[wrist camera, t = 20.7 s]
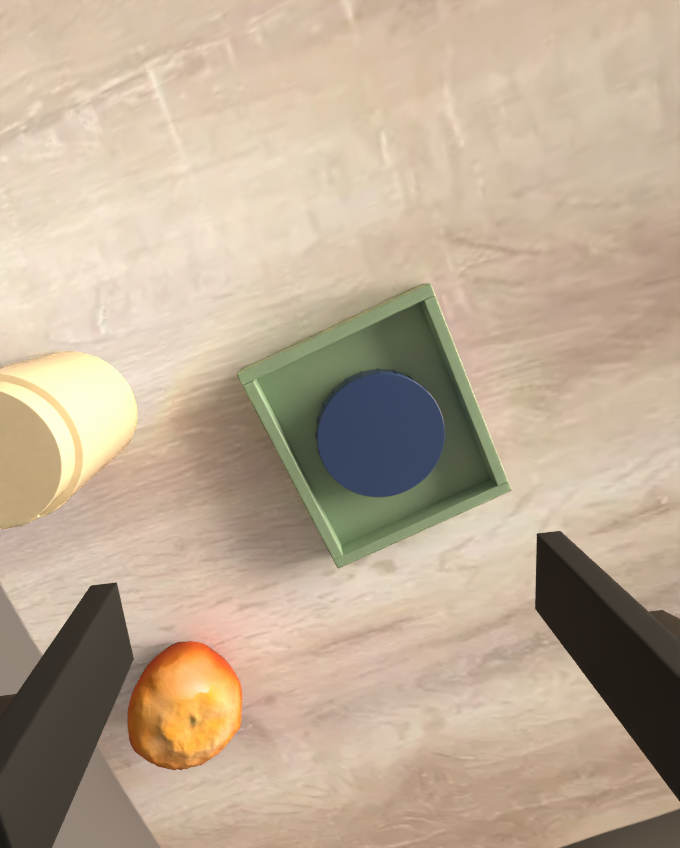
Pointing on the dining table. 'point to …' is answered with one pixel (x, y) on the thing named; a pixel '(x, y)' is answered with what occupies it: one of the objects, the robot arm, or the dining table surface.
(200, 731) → the fruit
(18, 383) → the jar
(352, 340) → the tray
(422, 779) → the dining table surface
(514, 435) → the dining table surface
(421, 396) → the lid
